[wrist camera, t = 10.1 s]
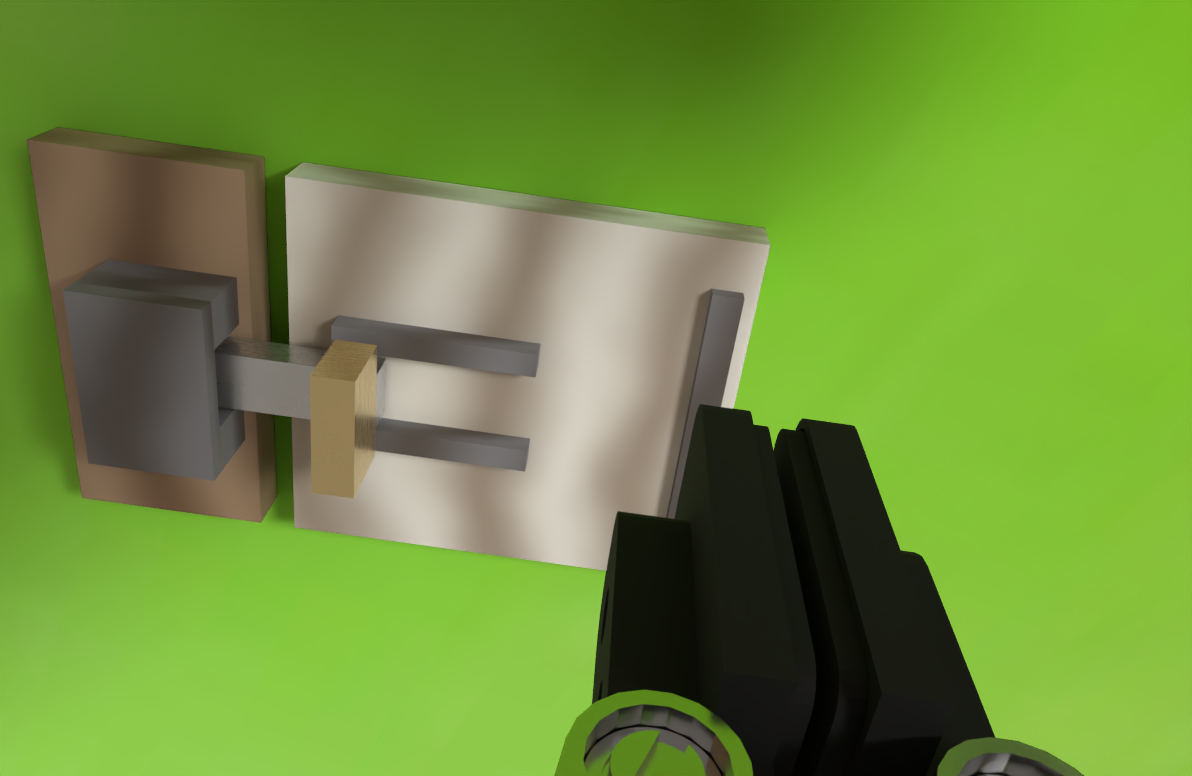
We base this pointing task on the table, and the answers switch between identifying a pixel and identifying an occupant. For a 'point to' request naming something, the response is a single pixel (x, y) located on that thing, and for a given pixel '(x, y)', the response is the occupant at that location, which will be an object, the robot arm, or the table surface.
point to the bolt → (312, 399)
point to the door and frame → (390, 342)
